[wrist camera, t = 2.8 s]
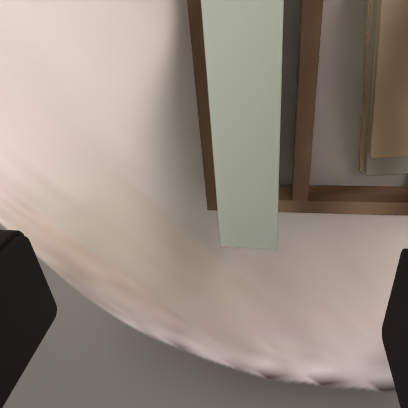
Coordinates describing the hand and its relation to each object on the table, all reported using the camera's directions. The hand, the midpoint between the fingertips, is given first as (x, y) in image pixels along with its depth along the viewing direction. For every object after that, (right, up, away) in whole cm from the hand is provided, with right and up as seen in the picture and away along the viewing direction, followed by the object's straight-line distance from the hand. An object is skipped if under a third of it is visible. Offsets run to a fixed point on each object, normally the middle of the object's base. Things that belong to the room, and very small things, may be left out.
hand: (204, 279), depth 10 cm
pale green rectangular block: (+3, +10, +14) cm, 18 cm away
